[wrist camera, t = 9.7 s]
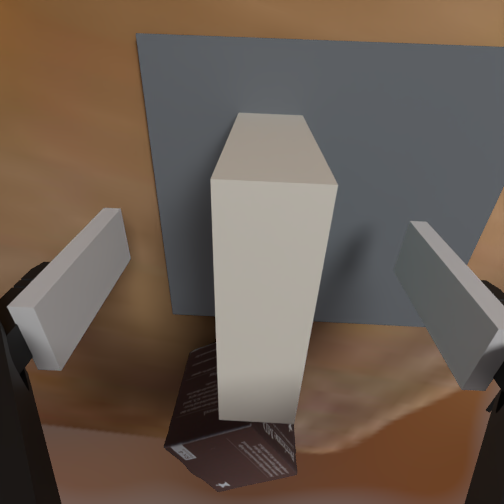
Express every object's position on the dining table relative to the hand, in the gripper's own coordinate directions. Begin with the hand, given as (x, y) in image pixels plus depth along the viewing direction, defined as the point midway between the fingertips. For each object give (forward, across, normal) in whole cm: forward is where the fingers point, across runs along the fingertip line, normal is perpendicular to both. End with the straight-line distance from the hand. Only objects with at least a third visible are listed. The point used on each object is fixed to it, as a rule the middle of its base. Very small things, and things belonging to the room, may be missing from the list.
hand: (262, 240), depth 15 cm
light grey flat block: (+3, 0, 0) cm, 3 cm away
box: (+4, -1, -13) cm, 14 cm away
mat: (+3, +3, 0) cm, 5 cm away
